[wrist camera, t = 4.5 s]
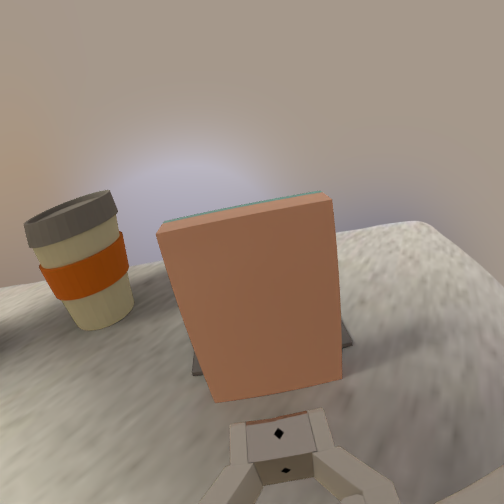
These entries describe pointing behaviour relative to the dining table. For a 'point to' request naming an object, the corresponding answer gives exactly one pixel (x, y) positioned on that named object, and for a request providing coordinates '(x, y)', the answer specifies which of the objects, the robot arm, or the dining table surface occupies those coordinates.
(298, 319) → the tile
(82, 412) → the dining table surface
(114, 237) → the reusable coffee cup
